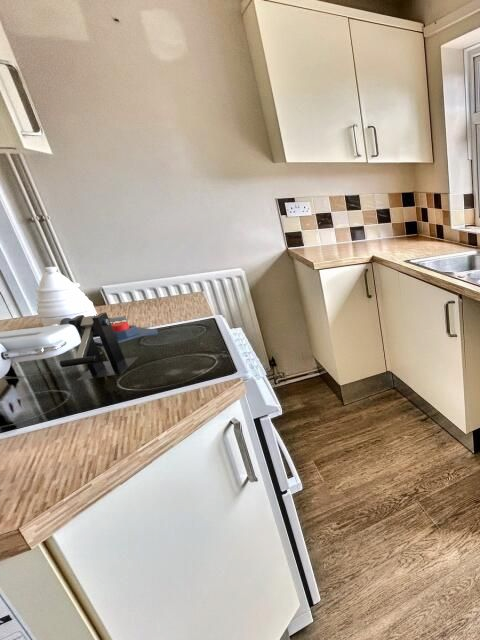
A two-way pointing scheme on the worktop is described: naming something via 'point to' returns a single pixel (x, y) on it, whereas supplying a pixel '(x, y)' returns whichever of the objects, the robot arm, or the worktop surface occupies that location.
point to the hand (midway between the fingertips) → (18, 332)
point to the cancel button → (120, 326)
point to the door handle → (66, 321)
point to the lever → (83, 345)
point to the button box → (130, 334)
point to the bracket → (110, 345)
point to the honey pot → (60, 299)
